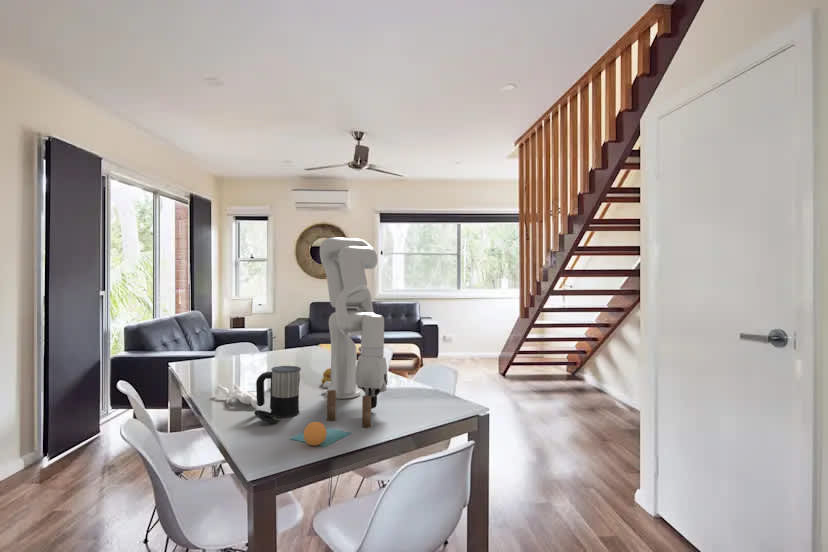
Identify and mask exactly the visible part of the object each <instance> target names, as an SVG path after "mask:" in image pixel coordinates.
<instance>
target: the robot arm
mask: <svg viewBox="0 0 828 552" xmlns="http://www.w3.org/2000/svg"><path fill="white" fill-rule="evenodd" d="M319 256H320V257H319V258H320V262H321V265H322V267H323V270H324V272H325V275H326V281H327V290H328V297H329V303H330V305H331V307H332V308H335V312H332V313H331V314H330V316H329V319H328V327H329V335H330V336H329V337H330V368H331V382H330V381H325V383H324V384H322V387H323V388H327V389H328V390H336V400H337V399H338V400H340V399H343V400H346V399H353V398H356V397H359V396H360V395H361V390H362V391H363V393H364V396H365V395H370V396H371V410H372V409H375V408H376V407H377V405H378V395H379V394H380V393H384V392H386V391H387V390H388V388H387V385H388V377H389V376H388V366H387V359H386V356H385V352H384V351H385V317H384V316H383V315H381V314H376V313H375V312H374V306H373V301H372V295H371V291H370V289H369V287H368V279H367V276H366V270H374V269H375V268H376V267H377V265H378V254H377V252H376V250H375V248H374V247H373V246H372V245H371V244H370V243H368V242H367V241H365V240H364V239H361V238H350V237H348V238H347V237H328V238H327V237H326V238H325V239H323V240H322V241H321V243H320V246H319ZM348 309H350V310H348ZM351 309H355V310H351ZM356 309H357V310H356ZM353 336H360V346H359V347H358V349H357V346H356V343H355V342H354V341H353V339H352V338H351V337H353ZM357 350H358V351H357ZM357 352H360V355H358V359H357ZM328 390H327V391H328ZM327 391H326V393H325V394H326V396H327Z"/></svg>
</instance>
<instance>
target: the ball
mask: <svg viewBox="0 0 828 552" xmlns="http://www.w3.org/2000/svg"><path fill="white" fill-rule="evenodd" d="M325 427H326V425H324V424H323V423H321V422H320V421H313V422H310V423H308V424H307V425H306V427H305V428H304V430H303V432H304V439H305V441H306V442H307V443H306V442H305V443H306V444H307V445H310V446H319V444H321V443H322V442H323V441H324V440H325V438H326V435H327V431H326V428H325Z"/></svg>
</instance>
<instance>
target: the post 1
mask: <svg viewBox="0 0 828 552" xmlns="http://www.w3.org/2000/svg"><path fill="white" fill-rule="evenodd" d="M326 392H327V395H326V398H327V399H326V402H327V403H326V405H327V407H326V420H327V421H329V422H334V421H336V418H337V417H336V416H337V415H336V409H337V408H336V404H337V403H336V402H337V401H336V400H337V399H336V390H326Z"/></svg>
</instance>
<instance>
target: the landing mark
mask: <svg viewBox="0 0 828 552" xmlns="http://www.w3.org/2000/svg"><path fill="white" fill-rule="evenodd" d="M325 428H326V431H327V435H326V438H325V440H324V441H323V442H322V443H321V444H319V445H318V447H319V446H320V447H323V448H325V447H328V446H329V445H332V444H333V443H335V442H338V441H339V440H341V439H343V438H345V437H347V436H349V435H351V434H352V432H351V431H346V430H340V429H336V428H331V427H327V426H325ZM289 440H294V441H298V442H302V443H306V444H308V443H307V442H306V441H305V439H304V431H303V432H301V433H299V434H296V435H294V436H292V437H290V438H289Z"/></svg>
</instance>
